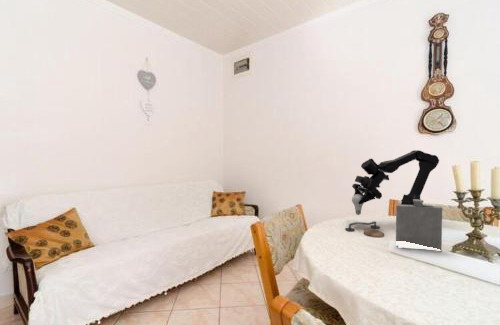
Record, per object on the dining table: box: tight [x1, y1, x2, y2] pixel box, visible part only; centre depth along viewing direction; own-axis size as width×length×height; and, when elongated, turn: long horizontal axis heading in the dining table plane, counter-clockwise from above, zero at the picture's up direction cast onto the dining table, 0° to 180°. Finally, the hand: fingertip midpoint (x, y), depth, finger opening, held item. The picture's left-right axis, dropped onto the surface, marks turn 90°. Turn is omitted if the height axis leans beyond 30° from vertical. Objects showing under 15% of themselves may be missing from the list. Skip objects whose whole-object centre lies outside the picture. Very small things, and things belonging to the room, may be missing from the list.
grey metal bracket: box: [344, 221, 381, 233], centre depth 127 cm, size 18×4×3 cm, turn 104°
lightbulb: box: [351, 194, 364, 216], centre depth 130 cm, size 6×6×11 cm
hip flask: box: [395, 199, 443, 251], centre depth 102 cm, size 16×4×20 cm, turn 72°
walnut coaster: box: [363, 229, 385, 238], centre depth 119 cm, size 9×9×1 cm
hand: (355, 202), depth 130 cm, fingers closed on lightbulb, 6 cm apart
